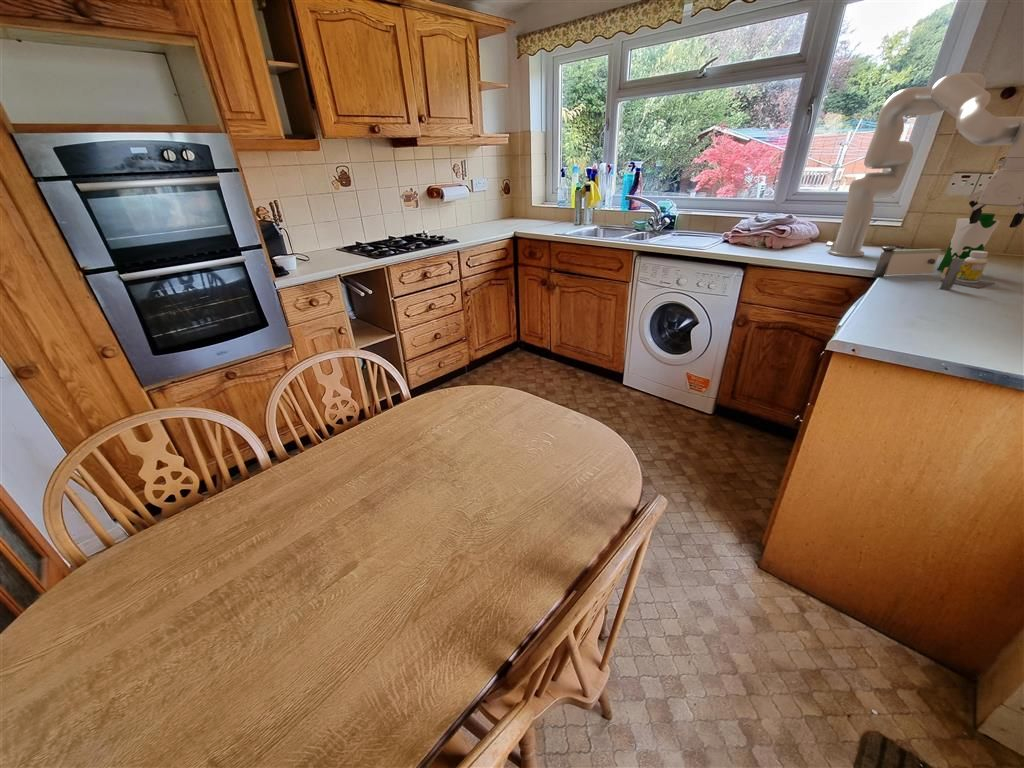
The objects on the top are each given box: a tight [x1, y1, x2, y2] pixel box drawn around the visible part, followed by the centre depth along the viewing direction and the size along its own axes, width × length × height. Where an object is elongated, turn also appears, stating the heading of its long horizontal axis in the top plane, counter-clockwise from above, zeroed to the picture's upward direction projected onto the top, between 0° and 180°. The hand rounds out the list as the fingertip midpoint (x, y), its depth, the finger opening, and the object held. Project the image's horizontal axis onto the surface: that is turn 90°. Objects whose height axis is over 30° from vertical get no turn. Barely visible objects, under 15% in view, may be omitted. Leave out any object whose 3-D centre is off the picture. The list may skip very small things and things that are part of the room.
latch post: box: [939, 258, 964, 291], centre depth 136 cm, size 3×3×10 cm
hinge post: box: [873, 245, 897, 278], centre depth 152 cm, size 4×4×10 cm
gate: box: [884, 248, 943, 276], centre depth 151 cm, size 16×2×8 cm, turn 89°
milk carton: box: [936, 212, 1001, 273], centre depth 151 cm, size 9×9×20 cm
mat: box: [940, 277, 996, 289], centre depth 143 cm, size 10×10×1 cm
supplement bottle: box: [956, 250, 989, 283], centre depth 141 cm, size 5×5×10 cm
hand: (992, 225), depth 135 cm, fingers open, 9 cm apart
